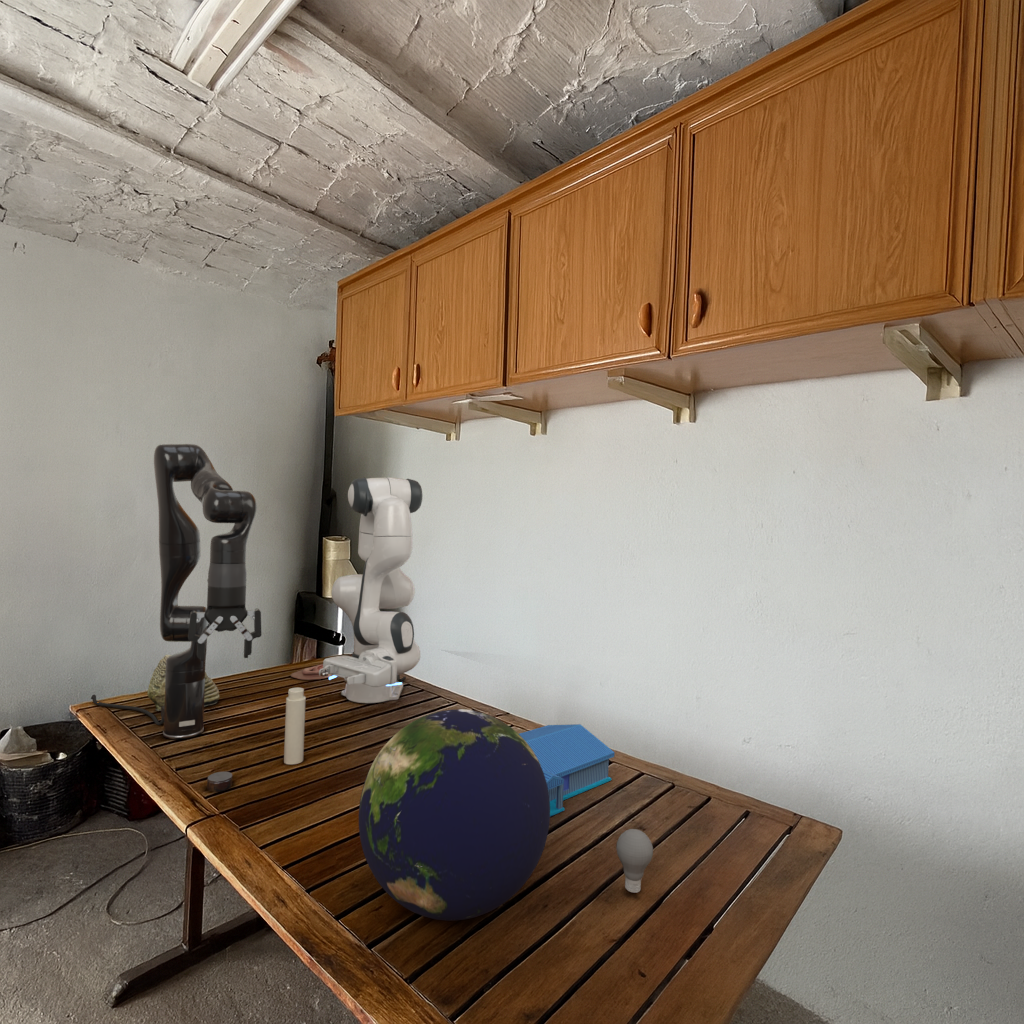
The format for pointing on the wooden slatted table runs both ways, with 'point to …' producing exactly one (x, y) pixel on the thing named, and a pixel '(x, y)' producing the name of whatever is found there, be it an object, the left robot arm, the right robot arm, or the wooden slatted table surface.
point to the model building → (569, 760)
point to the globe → (454, 815)
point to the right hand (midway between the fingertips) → (333, 677)
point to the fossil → (158, 687)
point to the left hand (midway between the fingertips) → (224, 658)
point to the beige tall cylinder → (294, 726)
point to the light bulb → (634, 857)
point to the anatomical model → (309, 673)
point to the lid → (219, 781)
